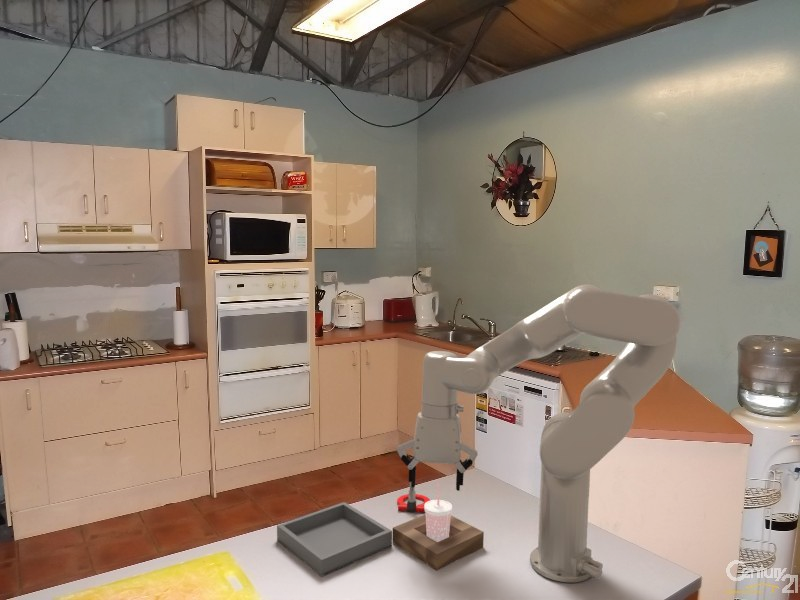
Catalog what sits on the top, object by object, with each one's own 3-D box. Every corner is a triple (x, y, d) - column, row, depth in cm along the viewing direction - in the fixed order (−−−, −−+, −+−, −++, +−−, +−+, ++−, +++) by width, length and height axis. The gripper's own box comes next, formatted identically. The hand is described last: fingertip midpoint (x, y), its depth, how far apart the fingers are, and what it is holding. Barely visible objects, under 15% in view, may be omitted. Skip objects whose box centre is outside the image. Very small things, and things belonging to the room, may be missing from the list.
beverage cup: (438, 535, 131) (438, 475, 129) (457, 546, 126) (458, 484, 125) (417, 544, 127) (418, 482, 125) (437, 555, 122) (438, 492, 121)
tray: (391, 546, 126) (392, 530, 126) (321, 576, 114) (321, 559, 114) (344, 515, 140) (344, 501, 139) (277, 540, 128) (276, 525, 128)
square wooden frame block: (483, 547, 126) (483, 532, 125) (436, 570, 117) (437, 554, 116) (438, 523, 136) (438, 508, 136) (392, 542, 127) (392, 527, 127)
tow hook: (399, 497, 151) (394, 511, 142) (400, 448, 150) (395, 460, 141) (431, 499, 150) (428, 514, 141) (433, 450, 149) (429, 462, 140)
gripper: (478, 406, 126) (474, 481, 128) (399, 402, 128) (397, 476, 130) (480, 417, 119) (476, 497, 121) (397, 412, 120) (394, 491, 122)
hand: (435, 486), depth 125 cm, fingers open, 9 cm apart
